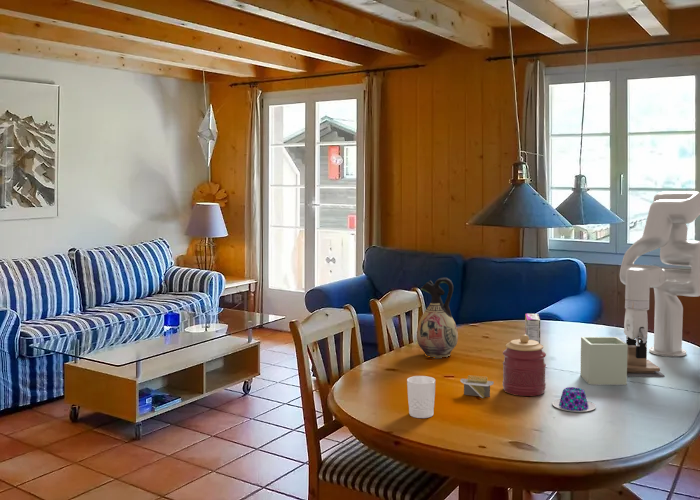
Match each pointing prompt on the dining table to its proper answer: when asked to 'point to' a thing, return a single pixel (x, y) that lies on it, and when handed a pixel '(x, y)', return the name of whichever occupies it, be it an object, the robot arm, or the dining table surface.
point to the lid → (639, 362)
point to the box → (604, 360)
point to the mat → (646, 374)
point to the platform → (477, 386)
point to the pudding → (573, 400)
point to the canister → (524, 367)
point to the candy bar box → (532, 326)
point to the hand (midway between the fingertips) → (635, 354)
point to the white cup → (421, 396)
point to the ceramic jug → (437, 322)
